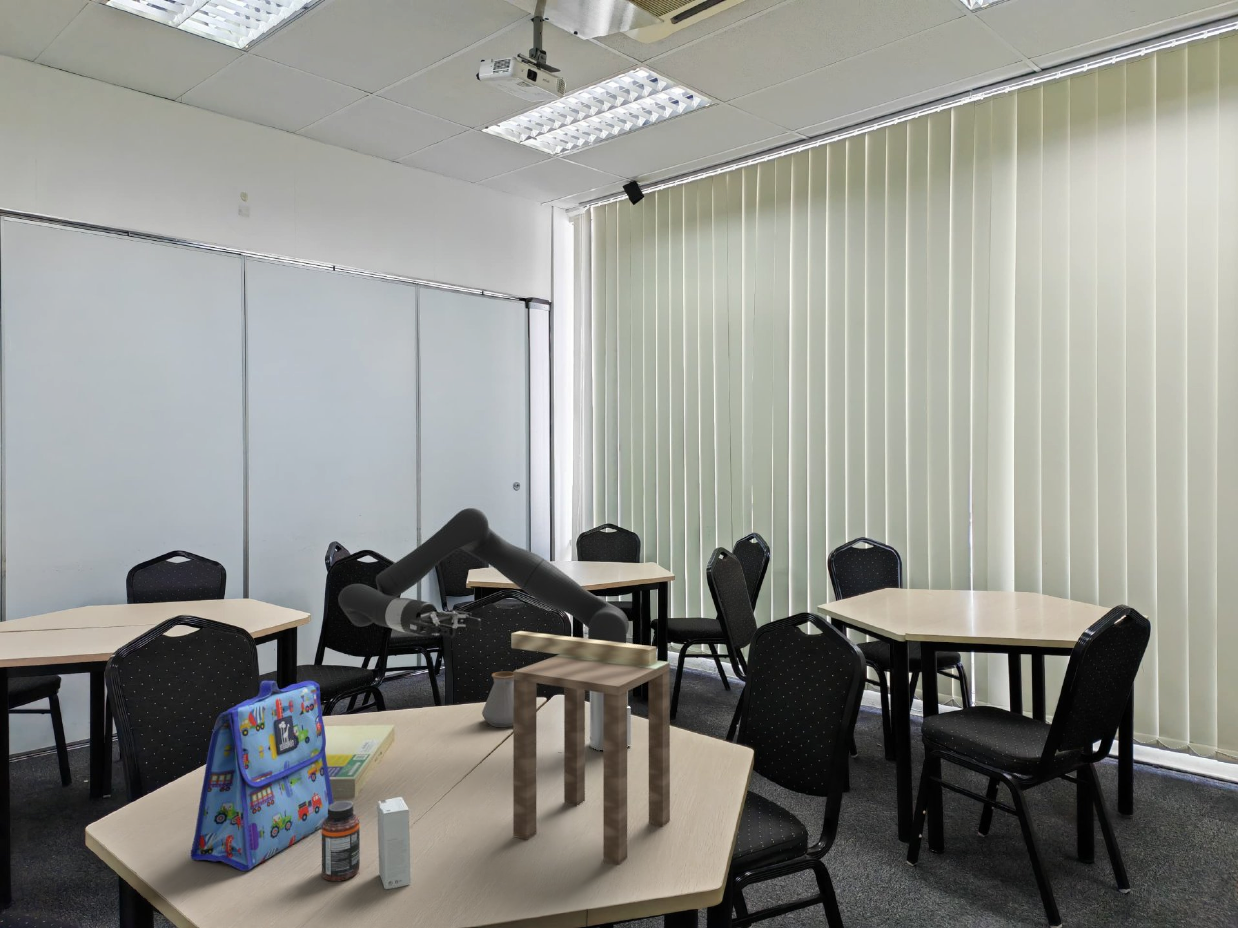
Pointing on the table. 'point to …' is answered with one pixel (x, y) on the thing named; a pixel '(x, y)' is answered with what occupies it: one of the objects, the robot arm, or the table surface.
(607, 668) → the walnut stand
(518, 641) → the maple rod
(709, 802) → the table surface
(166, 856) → the table surface
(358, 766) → the puzzle box
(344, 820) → the supplement bottle
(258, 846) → the lunch bag
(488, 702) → the coffee pot
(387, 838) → the skincare box
